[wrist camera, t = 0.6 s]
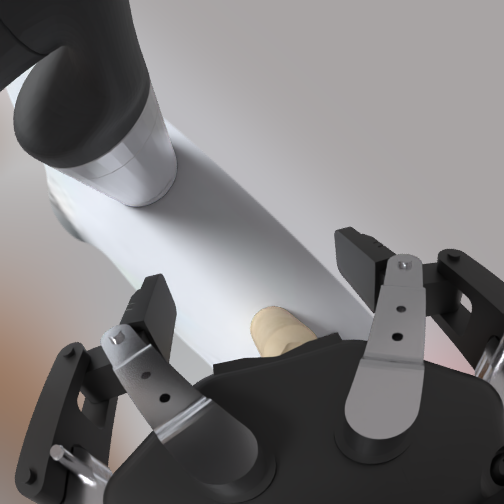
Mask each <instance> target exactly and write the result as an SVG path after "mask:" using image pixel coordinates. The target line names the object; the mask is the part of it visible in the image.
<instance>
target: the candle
mask: <svg viewBox="0 0 504 504" xmlns="http://www.w3.org/2000/svg"><path fill="white" fill-rule="evenodd" d="M250 332H251V336H252V338H253V341H254V343H255V345H256V347H257V349H258V351H259V353H260V355H261V357H275V356H279V355H282V354H284V353H286V352H288V351H290V350H292V349H294V348H296V347H298V346H300V345H302V344H304V343H306V342H308V341H311V340H315V339H317V337H316V335H315V334H314V333H313V332H312V331H311V330H310V329H309V328H308V327H307V326H305V325H304V324H303V323H302V322H300V321H299V320H298V319H297V318H295V317H294V316H293V315H292V314H290V313H289V312H288V311H286V310H285V309H283V308H280V307H275V306H272V307H267V308H264V309H262V310H260V311H259V312H258V313H257V314H256V315H255V316H254V318H253V320H252V322H251V327H250Z"/></svg>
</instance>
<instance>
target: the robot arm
mask: <svg viewBox="0 0 504 504" xmlns="http://www.w3.org/2000/svg"><path fill="white" fill-rule="evenodd" d="M37 62H38V63H37ZM36 63H37V64H36ZM35 64H36V65H35ZM33 65H35V66H34V68H33V69H32V70H31V72H30V73H29V75H28V76H27V78H26V80H25V82H24V83H23V86H22V88H21V90H20V92H19V95H18V97H17V101H16V104H15V109H14V118H13V120H14V131H15V135H16V138H17V140H18V142H19V144H20V145H21V147H22V148H23V149H24V150H25V151H26V152H27V153H28V154H29V155H31V156H32V157H34V158H35V159H37V160H39V161H41V162H43V163H45V164H47V165H48V166H50V167H52V168H54V169H56V170H58V171H60V172H62V173H64V174H66V175H68V176H70V177H72V178H74V179H76V180H78V181H80V182H82V183H83V184H85V185H87V186H89V187H91V188H93V189H95V190H97V191H99V192H101V193H103V194H105V195H107V196H109V197H111V198H113V199H115V200H117V201H119V202H121V203H123V204H125V205H128V206H132V207H141V206H145V205H149V204H151V203H154V202H156V201H157V200H159V199H160V198H161V197H163V196H164V195H165V194H166V193H167V192H168V190H169V189H170V187H171V186H172V184H173V182H174V179H175V177H176V172H177V160H176V155H175V152H174V149H173V146H172V143H171V140H170V137H169V134H168V131H167V128H166V126H165V123H164V120H163V117H162V114H161V111H160V108H159V105H158V101H157V99H156V95H155V92H154V90H153V86H152V83H151V80H150V77H149V73H148V70H147V67H146V64H145V61H144V58H143V55H142V52H141V49H140V46H139V43H138V39H137V35H136V32H135V28H134V24H133V20H132V15H131V9H130V4H129V0H0V91H2V90H3V89H4V88H5V87H6V86H8V85H9V84H10V83H11V82H12V81H14V80H15V79H16V78H17V77H19V76H20V75H21V74H22V73H24V72H25V71H26V70H28V69H29V68H30V67H32V66H33ZM334 236H335V247H336V259H337V266H338V269H339V271H340V273H341V274H342V276H343V277H344V278H345V279H346V281H347V282H348V283H349V284H350V285H351V287H353V289H354V290H355V291H356V292H357V294H358V295H359V296H360V297H361V299H362V300H363V301H364V302H365V303H366V305H367V306H368V307H369V308H370V310H371V311H372V312H373V313H375V316H374V320H373V324H372V327H371V331H370V335H369V339H368V341H363V340H341V338H340V336H339V334H338V333H334V334H331V335H328V336H324V337H321V338H318V339H315V340H311V341H308V342H306V343H304V344H302V345H300V346H298V347H296V348H294V349H292V350H290V351H288V352H286V353H284V354H282V355H279V356H275V357H258V358H242V359H238V360H233V361H228V362H223V363H218V364H213V372H214V374H212V375H210V376H208V377H206V378H204V379H202V380H200V381H199V382H197V383H196V384H195V385H193V386H192V385H191V384H190V383H189V382H188V381H187V380H186V379H185V378H183V377H182V376H181V375H180V374H179V373H178V372H177V371H176V370H175V369H174V368H173V367H172V366H171V365H170V364H169V359H170V352H171V345H172V339H173V333H174V327H175V321H176V315H177V312H176V306H175V303H174V300H173V298H172V295H171V293H170V291H169V288H168V286H167V283H166V281H165V278H164V276H163V275H162V274H157V275H153V276H149V277H146V278H145V280H144V282H143V284H142V287H141V289H139V290H137V291H136V292H135V294H134V295H133V296H132V297H131V299H130V301H129V305H128V306H127V308H126V311H125V313H124V315H123V317H122V320H121V322H120V324H119V325H117V326H115V327H112V328H111V329H109V330H108V331H107V332H106V333H105V334H104V335H103V336H102V338H101V341H100V344H101V346H98V347H96V348H93V349H91V350H88V351H86V349H85V348H84V346H83V345H82V344H81V343H79V342H75V343H71V344H69V345H67V346H66V347H64V348H63V349H62V350H61V351H60V353H59V354H58V355H57V358H56V360H55V362H54V364H53V366H52V368H51V371H50V373H49V375H48V377H47V380H46V382H45V384H44V387H43V389H42V392H41V394H40V397H39V399H38V402H37V405H36V407H35V410H34V412H33V415H32V418H31V421H30V424H29V427H28V430H27V433H26V436H25V439H24V443H23V446H22V450H21V453H20V457H19V461H18V465H17V469H16V474H15V483H16V487H17V489H18V491H19V492H20V493H21V494H22V495H24V496H25V497H27V498H29V499H31V500H32V501H34V502H36V503H37V504H504V282H503V281H502V280H500V279H499V278H498V277H497V276H495V275H494V274H493V273H491V272H490V271H489V270H487V269H486V268H485V267H483V266H482V265H481V264H479V263H478V262H477V261H475V260H474V259H472V258H471V257H470V256H468V255H467V254H465V253H464V252H462V251H460V250H456V249H445V250H442V251H440V252H439V254H438V260H437V263H430V264H422V262H421V260H420V259H419V258H417V257H415V256H413V255H409V254H398V255H396V254H395V253H394V252H392V251H391V250H389V249H388V248H387V247H386V246H383V244H381V243H380V242H378V241H377V240H376V239H375V238H373V237H371V236H368V235H365V234H360V233H359V232H357V231H356V230H355V229H354V228H352V227H347V228H343V229H339V230H336V231H335V234H334ZM462 293H463V294H465V295H466V296H467V297H468V298H469V300H470V301H471V304H472V312H471V313H470V312H469V311H468V310H467V309H466V308H465V307H464V306H463V305H462V304H461V303H460V301H461V297H462ZM426 316H431V317H432V318H433V319H434V321H435V322H436V323H437V324H438V325H439V327H440V328H441V329H442V330H443V331H444V332H445V334H446V335H447V336H448V337H449V338H450V340H451V341H452V342H453V343H454V344H455V346H456V347H457V348H458V349H459V351H460V352H461V353H462V354H463V356H464V357H465V358H466V360H467V361H468V362H469V364H470V365H471V366H472V367H473V369H474V370H475V376H473V375H470V374H466V373H463V372H460V371H457V370H453V369H450V368H447V367H444V366H441V365H438V364H434V363H431V362H428V361H425V360H423V358H424V343H425V321H426ZM79 391H81V393H82V394H83V395H84V396H85V401H84V404H83V408H82V412H81V411H80V410H79V407H78V404H77V398H78V395H79ZM125 393H128V395H129V396H130V398H131V399H132V401H133V402H134V404H135V405H136V407H137V408H138V410H139V411H140V412H141V414H142V415H143V417H144V418H145V419H146V421H147V422H148V424H149V425H150V426H151V428H152V429H153V431H152V432H151V433H150V434H149V435H148V437H147V438H146V439H145V440H144V441H143V442H142V443H141V444H140V445H139V446H138V448H137V449H136V450H135V451H134V452H133V453H132V454H131V455H130V456H129V457H128V459H127V460H126V461H125V462H124V463H123V464H122V465H121V466H120V467H119V468H118V469H117V470H116V471H115V472H114V474H113V475H112V472H111V470H110V469H109V467H108V459H109V450H110V444H111V436H112V429H113V423H114V417H115V410H116V405H117V400H118V396H119V395H122V394H125Z"/></svg>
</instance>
